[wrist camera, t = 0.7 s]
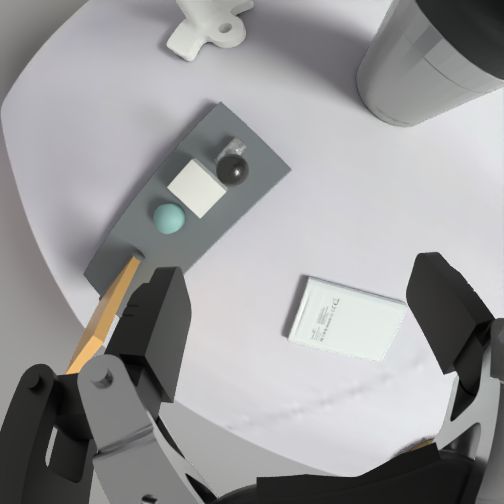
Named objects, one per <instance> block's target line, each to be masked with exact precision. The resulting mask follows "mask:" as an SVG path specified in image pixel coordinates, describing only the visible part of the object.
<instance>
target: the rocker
mask: <svg viewBox="0 0 504 504" xmlns="http://www.w3.org/2000/svg"><path fill="white" fill-rule="evenodd" d="M167 188H168V189H169V190H170V191H171V192H172V193H173V194H174V195H175V196H177V197H178V198H179V199H180V200H181V201H182V202H183V203H184V204H185V205H186V206H187V207H188V208H189V209H190V210H192V211H193V212H194V213H195V214H196V215H197V216H198V217H199V218H201V217H202V216H203V215H204V214H205V213H206V212H207V211H208V210H209V209H210V208H211V207H212V206H213V205H214V204H215V203H216V202H217V201H218V200H219V199H220V198H221V197H222V196H223V195H224V194H225V193H226V192H227V190H228V188H227V187H226V186H225V185H224V184H222V183H221V182H220V181H219V180H218V178H217V177H216V176H215V175H214V174H212V173H211V172H210V171H209V170H208V169H207V168H206V167H205V166H204V165H203V164H202V163H201V162H200V161H199V160H198V159H196V158H195V159H192V160H191V161H190V162H189V163H188V164H187V165H186V166H185V167H184V169H183V170H182V171H181V172H180V173H179V174H178V175H177V176H176V178H175V179H174V180H173V181H172V182H171V183H170V184H169V186H168V187H167Z"/></svg>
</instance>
